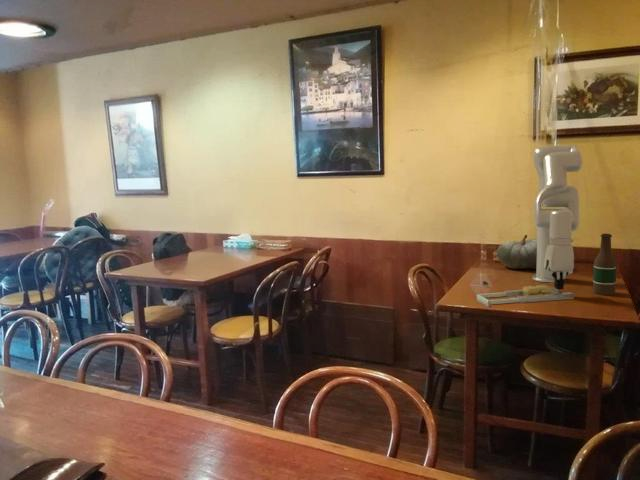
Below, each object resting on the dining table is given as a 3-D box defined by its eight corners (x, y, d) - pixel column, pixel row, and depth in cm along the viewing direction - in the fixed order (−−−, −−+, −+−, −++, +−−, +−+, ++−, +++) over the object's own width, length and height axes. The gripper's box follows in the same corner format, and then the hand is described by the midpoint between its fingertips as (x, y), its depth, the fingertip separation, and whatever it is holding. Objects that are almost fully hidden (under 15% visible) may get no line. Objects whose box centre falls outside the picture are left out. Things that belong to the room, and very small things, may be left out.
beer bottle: (614, 296, 189) (617, 235, 185) (592, 294, 193) (594, 234, 190) (615, 292, 195) (618, 233, 192) (593, 290, 199) (595, 232, 196)
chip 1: (531, 295, 190) (532, 285, 190) (537, 298, 187) (538, 288, 186) (522, 296, 190) (522, 286, 189) (528, 299, 186) (528, 288, 185)
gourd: (561, 266, 237) (555, 231, 236) (512, 276, 236) (505, 241, 236) (538, 262, 262) (531, 230, 261) (493, 271, 261) (486, 240, 261)
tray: (504, 298, 192) (504, 292, 192) (518, 304, 182) (518, 298, 182) (476, 300, 190) (476, 294, 190) (488, 307, 181) (488, 300, 180)
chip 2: (544, 294, 191) (545, 284, 191) (551, 297, 187) (551, 287, 187) (535, 295, 191) (535, 285, 190) (541, 297, 187) (541, 287, 186)
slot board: (554, 293, 196) (554, 286, 196) (574, 300, 185) (574, 293, 184) (504, 297, 193) (504, 290, 193) (520, 305, 181) (520, 298, 181)
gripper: (571, 240, 192) (570, 285, 194) (536, 242, 190) (535, 288, 192) (584, 242, 184) (582, 289, 186) (548, 244, 182) (547, 292, 184)
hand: (558, 288), depth 189 cm, fingers closed
